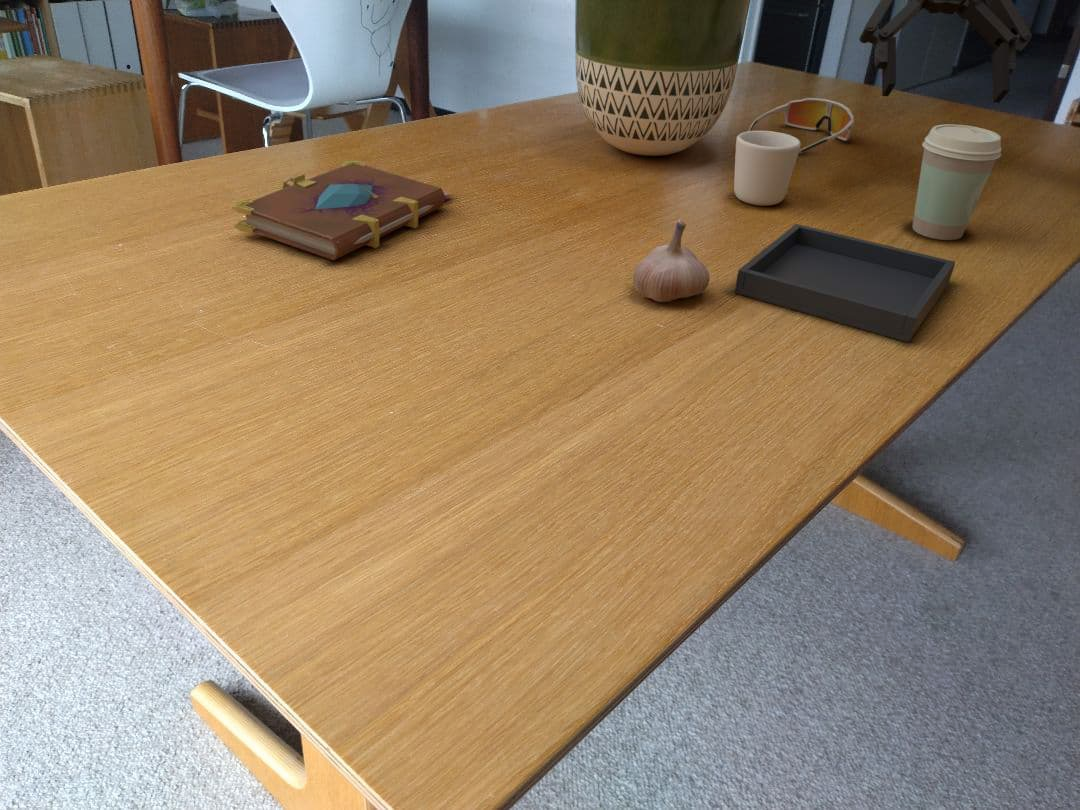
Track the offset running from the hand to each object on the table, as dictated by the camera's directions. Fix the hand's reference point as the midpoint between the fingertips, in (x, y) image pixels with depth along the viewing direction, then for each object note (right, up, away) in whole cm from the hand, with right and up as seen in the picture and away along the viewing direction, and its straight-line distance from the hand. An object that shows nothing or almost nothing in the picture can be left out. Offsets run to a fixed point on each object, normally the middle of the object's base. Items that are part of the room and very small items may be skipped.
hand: (944, 93), depth 108 cm
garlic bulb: (-37, -27, -19) cm, 50 cm away
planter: (-34, 0, +24) cm, 42 cm away
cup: (-21, -11, +8) cm, 25 cm away
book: (-72, -16, -3) cm, 74 cm away
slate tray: (-18, -26, -16) cm, 36 cm away
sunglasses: (-8, +4, +33) cm, 34 cm away
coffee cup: (-1, -17, -1) cm, 17 cm away
